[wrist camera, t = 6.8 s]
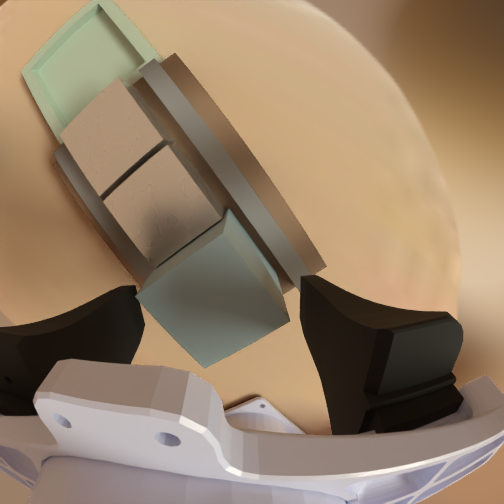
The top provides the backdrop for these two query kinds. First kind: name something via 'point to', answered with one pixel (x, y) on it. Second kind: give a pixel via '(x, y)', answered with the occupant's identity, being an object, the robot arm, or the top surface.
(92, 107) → the chip
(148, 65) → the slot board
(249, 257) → the sage green cube
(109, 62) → the chip tray
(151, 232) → the chip
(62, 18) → the top surface
